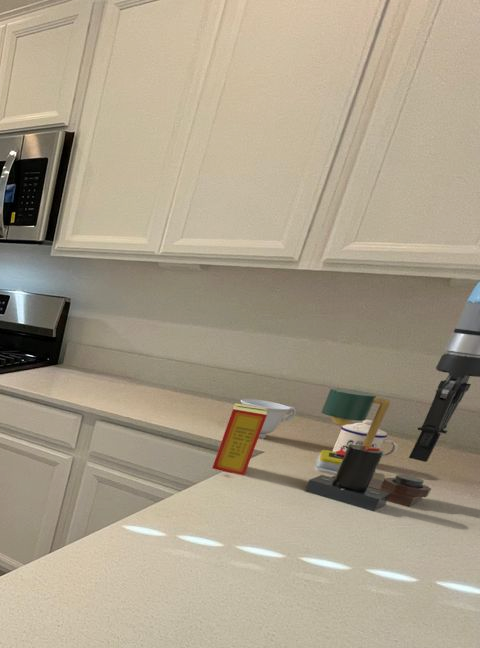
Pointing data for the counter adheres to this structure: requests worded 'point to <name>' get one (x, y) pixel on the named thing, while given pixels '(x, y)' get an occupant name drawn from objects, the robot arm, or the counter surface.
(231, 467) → the baking soda box
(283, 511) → the counter surface
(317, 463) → the emergency button
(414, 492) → the lamp base
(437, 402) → the robot arm
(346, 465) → the black pen holder
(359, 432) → the teacup with lid
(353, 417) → the desk lamp
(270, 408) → the teacup
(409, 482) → the lamp button
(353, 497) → the dimmer panel
